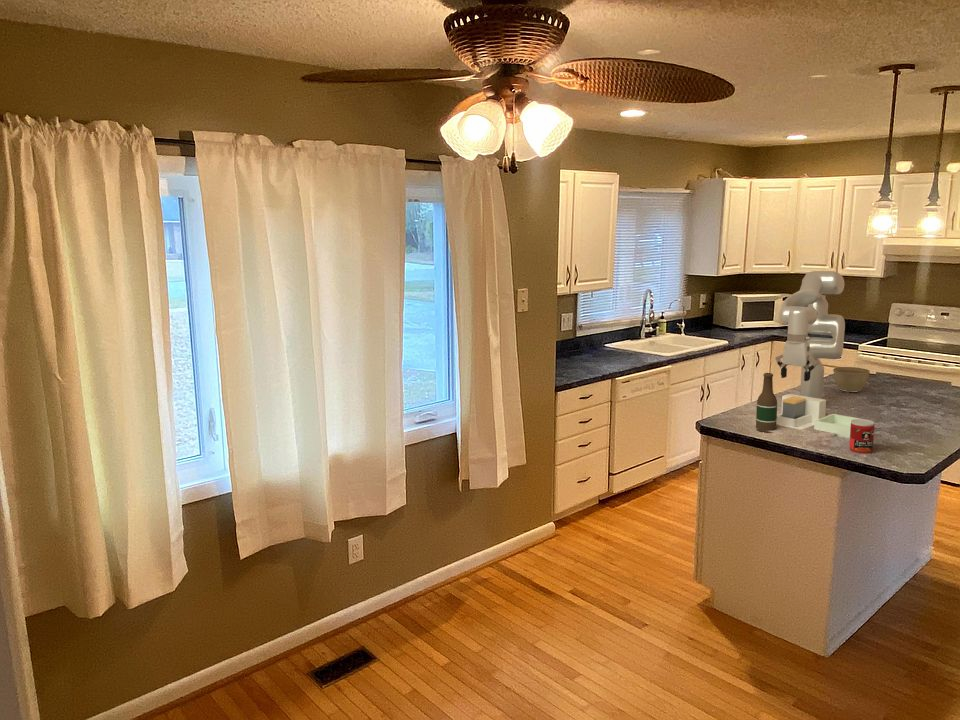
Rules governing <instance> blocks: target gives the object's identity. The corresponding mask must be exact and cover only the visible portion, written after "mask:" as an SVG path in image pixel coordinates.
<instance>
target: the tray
mask: <svg viewBox="0 0 960 720" xmlns="http://www.w3.org/2000/svg"><path fill="white" fill-rule="evenodd" d="M854 419H861V418H859V417H854V416H849V415H842V414H838V413H837V414H836V413H831V414H828V415H825V417H823V418H820V419H818V420H815V422H814V425H813V430H817V431H821V432H825V433H830V434H831V433H832V434H833V436H836V437H839V438H844V439H849V440H850V428H851V420H854Z"/></svg>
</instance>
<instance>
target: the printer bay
mask: <svg viewBox="0 0 960 720" xmlns="http://www.w3.org/2000/svg"><path fill="white" fill-rule="evenodd" d="M793 396H796V397H802V398H806V400H805V414H804V416H802V417H799V418H797V419H792V418H787V417H782V411H783V400H784V399H787V398H790V397H793ZM781 397H782V399H781V413H777V421H776V426H780V427H781V426H782V427H786V428H791V429H796V430H800V431H801V430H805V429H807V428H810V427H812V426H813V427H814V422H815V420H818V419H820V418H823V417H826V411H827V410H826V408H827V399H824V398H822V399H819V398H812V397H806V396H800V394H794V393H793V394H792V393H788V394H784V395H782V396H781Z"/></svg>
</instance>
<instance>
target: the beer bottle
mask: <svg viewBox="0 0 960 720" xmlns="http://www.w3.org/2000/svg"><path fill="white" fill-rule="evenodd" d="M762 377H763V384H762V391H761V393H760V394H759V396H758V397H757V400H756V401H757V402H756V412H755V413H756V416H755V417H756V418H755V430H756V431H758V432H759V433H763V432H764V434H773V433H774V432H773V431H775V430H777V425H776V421H777V415H778V399H777V396H776V395H775V394H774V390H773V389H774V385H773V377H774V373H772V372H765V373H763V375H762Z"/></svg>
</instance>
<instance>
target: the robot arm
mask: <svg viewBox="0 0 960 720" xmlns="http://www.w3.org/2000/svg"><path fill="white" fill-rule="evenodd" d="M799 288H800V289H799V290H798V291H796V292H794V293H792V294H791V295H788V297H786V298H785V299H784V301H783V303H782V306H781V309H780V311H779V312H780V313H779V319H780V321H781V323H783V324H786V325H787V340H786V341H785V343H784V346H783V352H782V354H780V355H779V356H778V355H777V356H775V360H776V363H777V365H778V366H779V368H780V376H781V379H785V378H787V375H788V372H787V371H788V367H787V366H793V367H801V370H800V371H801V372H800V391H799V393H800V394H799V395H800V396H806V397H812V398H819V399H824V397H826V394H825V393H824V379H825V367H824V364H823V363H822V362H821V360H820V359H826V360H840V358H841V357H842V356H843V352H844V343H845V342H844V340H845V330H846V322H845V318H844V316H843V315H840V314H831V313H829V311H828V310H829V303H828V300H827V298H826V297H825V296H824V295H840V294H842V293H843V292H844V288H845V280H844V276H843V275H842V274H840V273H839V272H837V271H834V270H813V271H809V272H806V274H805V275H804V277H803V278H802V280H801V285H800V287H799ZM809 334H811V335H823V336H832V338H831V337H817V336H815V337H813V336H809Z"/></svg>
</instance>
